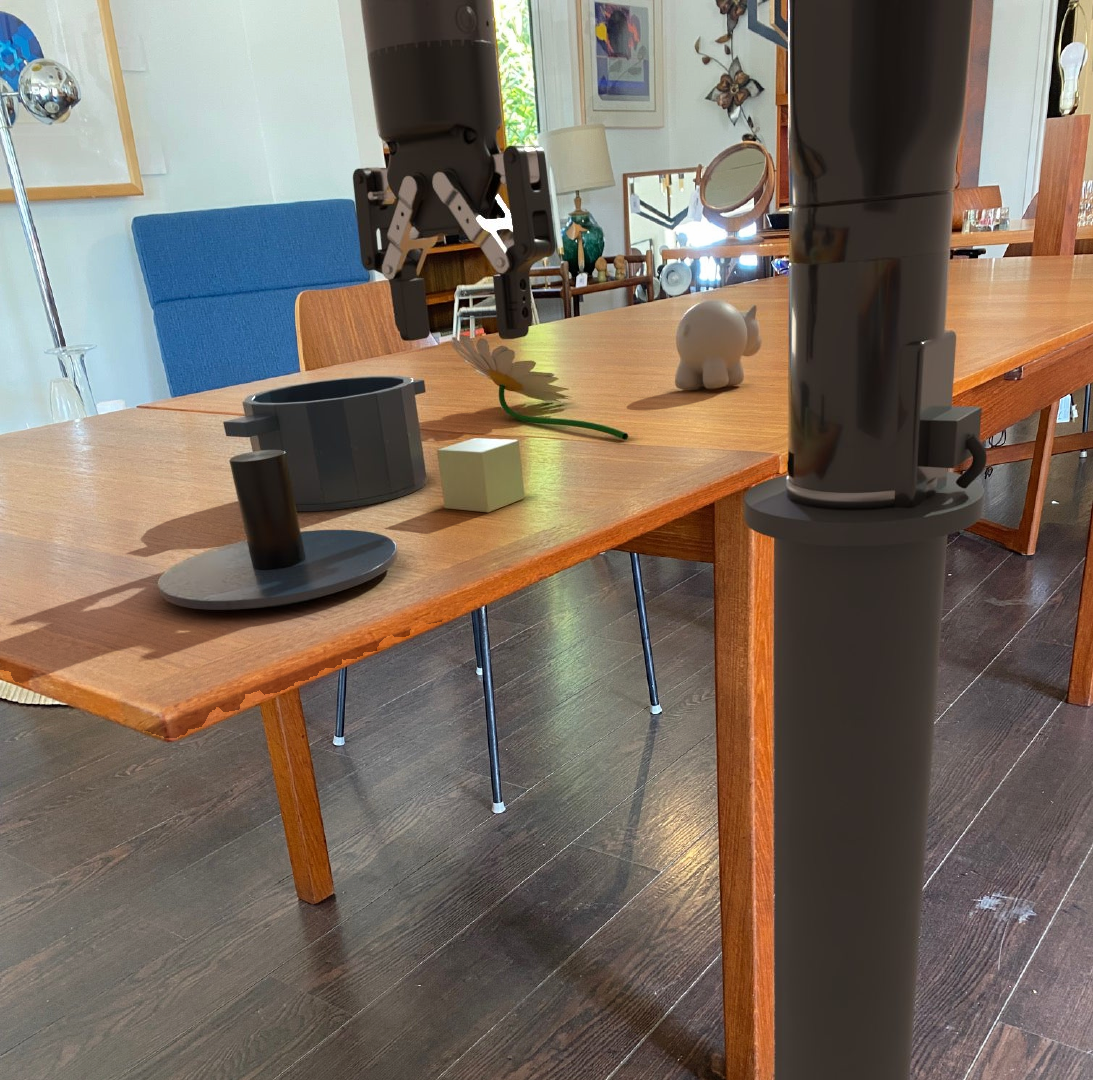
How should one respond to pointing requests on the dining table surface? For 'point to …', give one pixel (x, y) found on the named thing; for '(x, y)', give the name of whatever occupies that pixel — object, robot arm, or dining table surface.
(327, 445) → the pot
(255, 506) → the lid
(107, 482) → the dining table surface
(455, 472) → the block
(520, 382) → the flower
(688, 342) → the chubby cartoon animal
